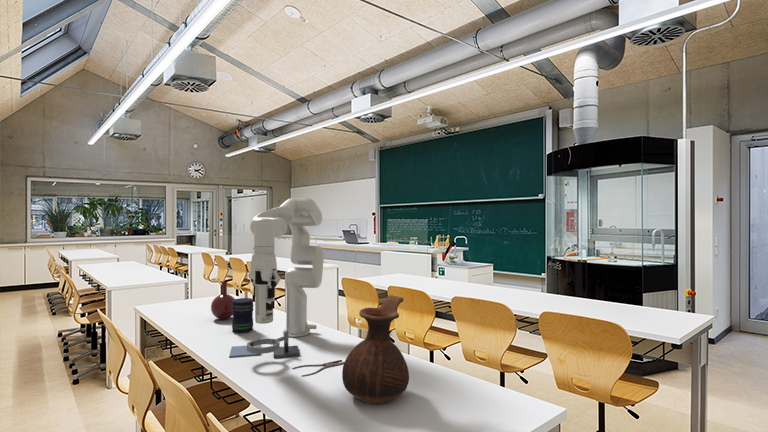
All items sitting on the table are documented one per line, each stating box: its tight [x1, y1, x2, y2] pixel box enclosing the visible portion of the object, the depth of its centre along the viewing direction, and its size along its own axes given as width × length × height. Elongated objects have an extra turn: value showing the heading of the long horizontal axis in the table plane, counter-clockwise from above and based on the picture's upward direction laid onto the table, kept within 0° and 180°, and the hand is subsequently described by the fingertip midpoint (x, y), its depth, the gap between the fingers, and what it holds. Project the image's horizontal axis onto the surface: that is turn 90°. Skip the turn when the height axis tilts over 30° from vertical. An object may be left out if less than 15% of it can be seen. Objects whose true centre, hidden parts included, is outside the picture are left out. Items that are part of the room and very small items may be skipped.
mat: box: [228, 345, 262, 358], centre depth 172 cm, size 12×12×1 cm
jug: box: [341, 294, 410, 405], centre depth 132 cm, size 22×22×30 cm
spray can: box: [254, 271, 274, 325], centre depth 159 cm, size 7×7×20 cm
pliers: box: [292, 359, 345, 377], centre depth 156 cm, size 10×1×20 cm
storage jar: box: [231, 297, 254, 334], centre depth 202 cm, size 10×10×15 cm
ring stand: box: [246, 330, 300, 359], centre depth 164 cm, size 20×20×9 cm
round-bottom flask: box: [210, 280, 235, 320], centre depth 224 cm, size 13×13×20 cm
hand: (264, 296), depth 159 cm, fingers closed on spray can, 6 cm apart
